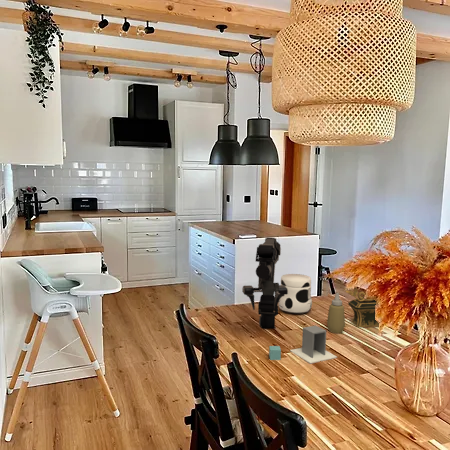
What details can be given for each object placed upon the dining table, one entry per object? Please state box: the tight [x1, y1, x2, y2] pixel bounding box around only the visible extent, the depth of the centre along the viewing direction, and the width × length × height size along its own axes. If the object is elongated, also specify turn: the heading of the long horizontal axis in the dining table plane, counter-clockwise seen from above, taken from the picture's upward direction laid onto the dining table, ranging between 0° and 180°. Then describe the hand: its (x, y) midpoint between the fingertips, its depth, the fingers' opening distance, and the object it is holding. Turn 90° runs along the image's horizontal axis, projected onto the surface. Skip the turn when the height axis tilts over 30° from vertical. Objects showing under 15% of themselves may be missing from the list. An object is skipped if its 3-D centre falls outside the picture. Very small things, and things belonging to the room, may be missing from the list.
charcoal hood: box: [301, 325, 327, 358], centre depth 171 cm, size 6×6×10 cm
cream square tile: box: [290, 347, 338, 364], centre depth 172 cm, size 13×13×1 cm
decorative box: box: [345, 287, 380, 328], centre depth 206 cm, size 20×10×20 cm, turn 99°
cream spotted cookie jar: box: [278, 273, 313, 315], centre depth 225 cm, size 17×17×18 cm
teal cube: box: [268, 345, 282, 361], centre depth 168 cm, size 4×4×4 cm
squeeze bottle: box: [326, 292, 346, 334], centre depth 197 cm, size 8×8×18 cm
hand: (264, 309), depth 186 cm, fingers open, 9 cm apart
